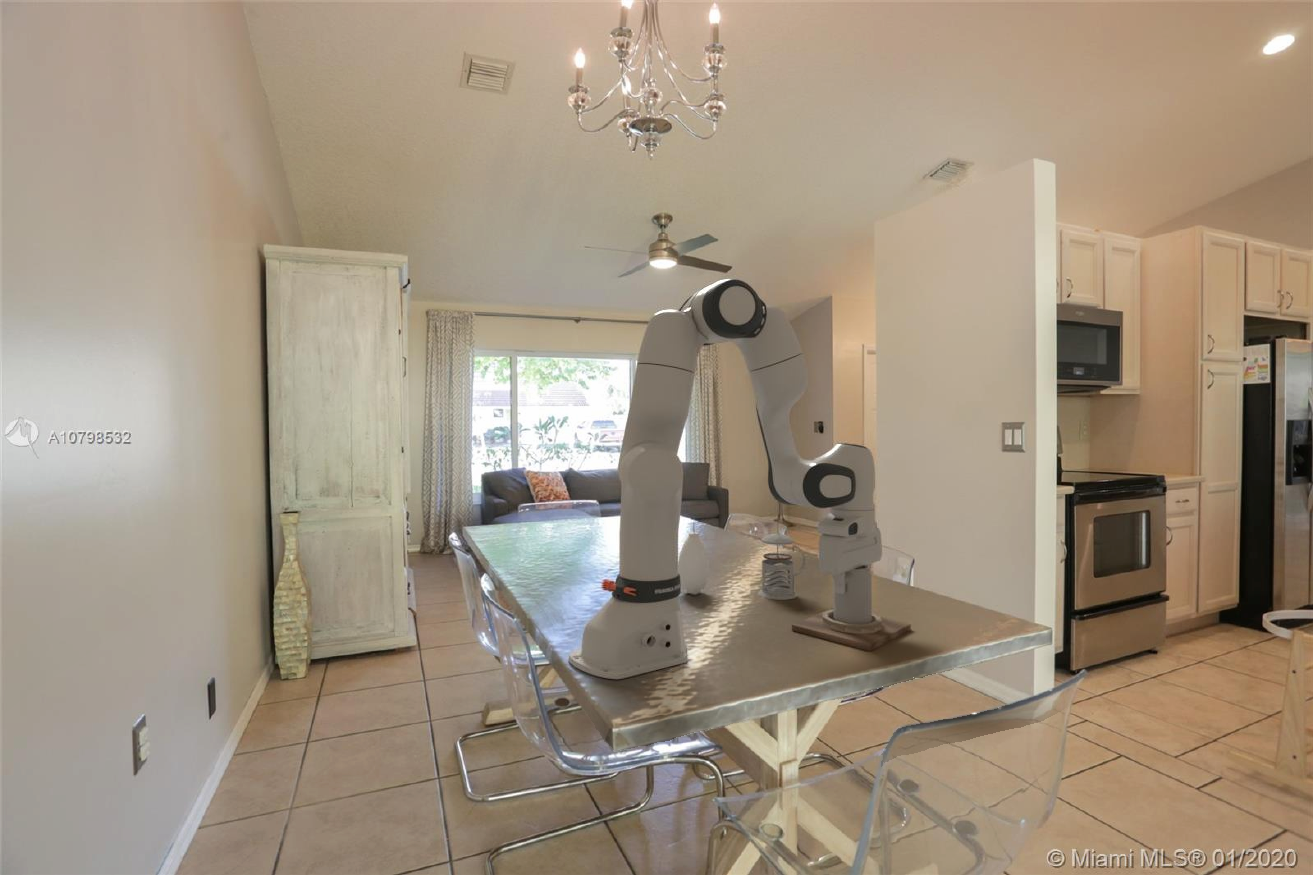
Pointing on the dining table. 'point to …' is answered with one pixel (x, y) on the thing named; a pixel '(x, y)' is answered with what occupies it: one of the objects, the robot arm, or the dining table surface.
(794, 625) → the seat board
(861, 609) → the can
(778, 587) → the french press
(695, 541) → the sauce bottle
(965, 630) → the dining table surface
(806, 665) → the dining table surface
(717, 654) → the dining table surface
